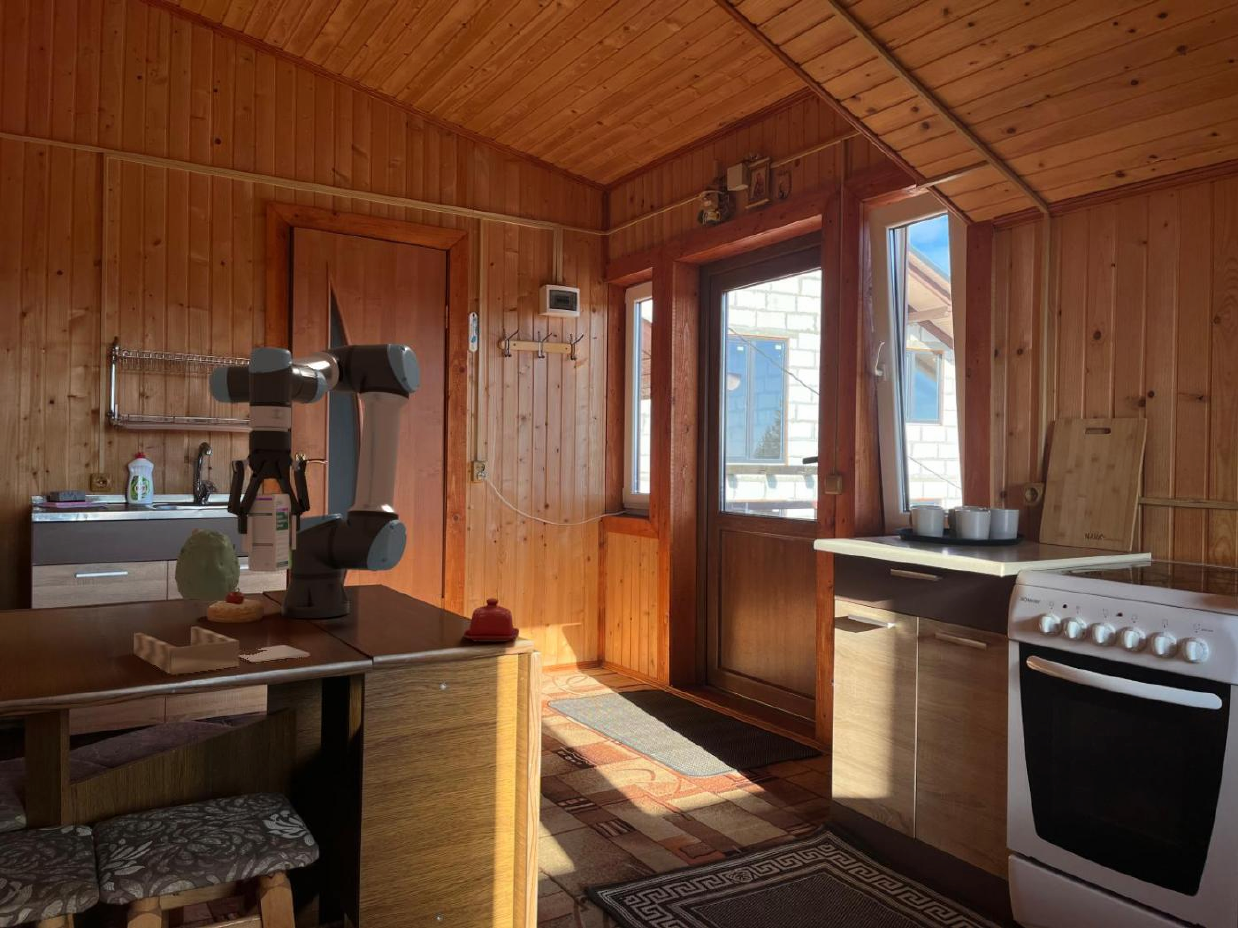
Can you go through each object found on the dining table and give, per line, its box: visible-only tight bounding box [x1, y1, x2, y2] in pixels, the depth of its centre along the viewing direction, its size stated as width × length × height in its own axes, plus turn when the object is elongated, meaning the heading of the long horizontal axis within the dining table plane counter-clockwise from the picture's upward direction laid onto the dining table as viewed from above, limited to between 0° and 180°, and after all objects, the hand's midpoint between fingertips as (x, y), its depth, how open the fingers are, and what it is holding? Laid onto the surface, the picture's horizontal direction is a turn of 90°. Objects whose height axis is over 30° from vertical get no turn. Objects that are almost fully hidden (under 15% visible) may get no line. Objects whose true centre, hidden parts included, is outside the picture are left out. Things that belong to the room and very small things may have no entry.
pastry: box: [206, 587, 265, 624], centre depth 212 cm, size 12×12×9 cm
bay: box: [133, 626, 240, 675], centre depth 171 cm, size 20×11×5 cm, turn 44°
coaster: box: [239, 644, 311, 662], centre depth 179 cm, size 11×11×1 cm
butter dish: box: [463, 597, 520, 642], centre depth 200 cm, size 12×12×8 cm
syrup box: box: [247, 492, 292, 573], centre depth 178 cm, size 6×6×14 cm
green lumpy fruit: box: [174, 528, 241, 601], centre depth 239 cm, size 16×19×20 cm
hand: (269, 550), depth 178 cm, fingers closed on syrup box, 8 cm apart
